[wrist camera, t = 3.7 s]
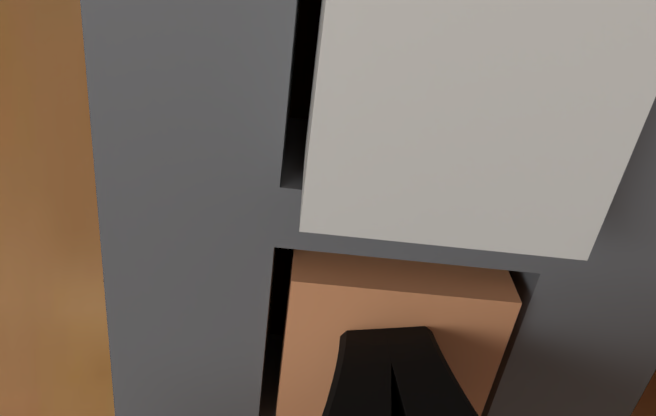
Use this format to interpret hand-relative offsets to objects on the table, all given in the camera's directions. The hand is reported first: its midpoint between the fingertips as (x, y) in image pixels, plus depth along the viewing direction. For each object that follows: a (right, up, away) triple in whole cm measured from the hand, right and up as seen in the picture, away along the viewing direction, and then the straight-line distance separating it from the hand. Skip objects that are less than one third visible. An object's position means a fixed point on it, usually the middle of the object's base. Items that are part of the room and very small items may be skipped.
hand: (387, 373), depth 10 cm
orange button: (0, +1, +2) cm, 2 cm away
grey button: (+1, +5, -2) cm, 5 cm away
